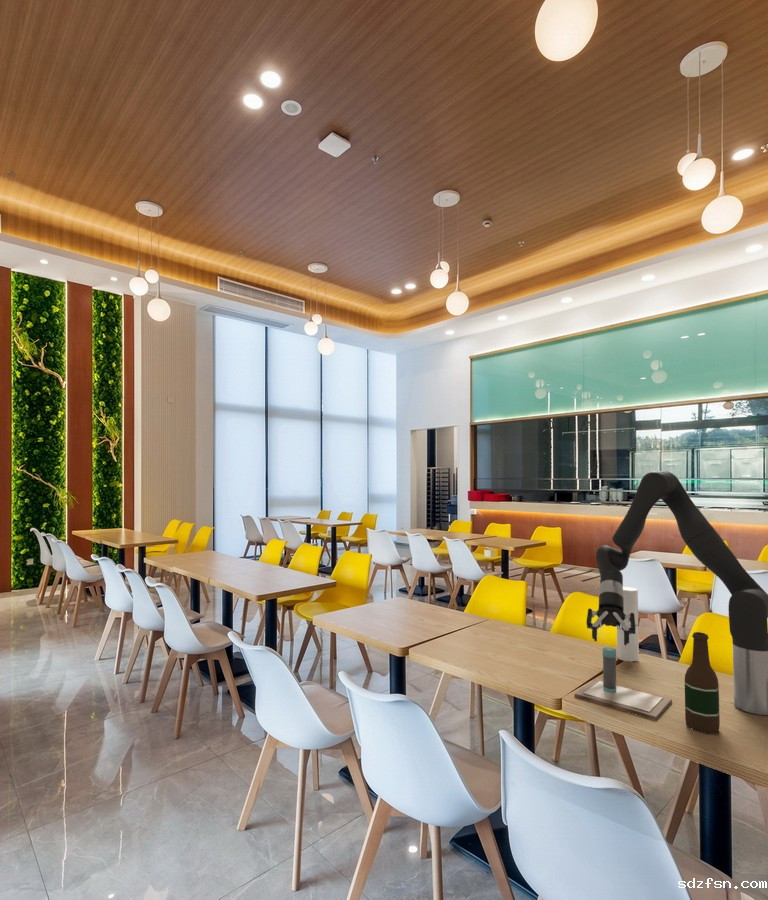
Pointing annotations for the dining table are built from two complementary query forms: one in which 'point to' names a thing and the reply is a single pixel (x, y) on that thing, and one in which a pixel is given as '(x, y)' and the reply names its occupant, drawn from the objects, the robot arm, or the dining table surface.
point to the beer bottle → (701, 689)
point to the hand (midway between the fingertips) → (610, 641)
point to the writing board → (625, 699)
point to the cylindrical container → (630, 606)
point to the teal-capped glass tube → (609, 669)
